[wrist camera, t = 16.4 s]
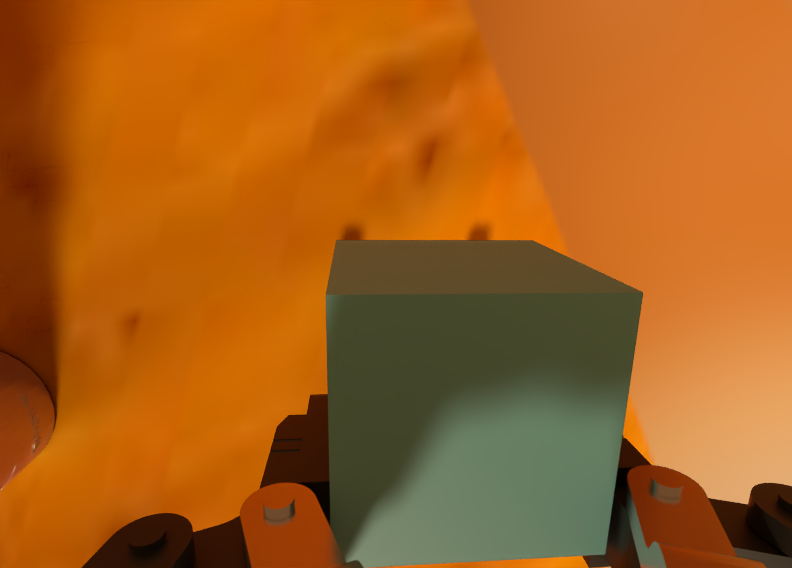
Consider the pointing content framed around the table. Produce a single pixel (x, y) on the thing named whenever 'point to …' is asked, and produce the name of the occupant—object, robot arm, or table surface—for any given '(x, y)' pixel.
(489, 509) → the teal block
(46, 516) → the table surface
